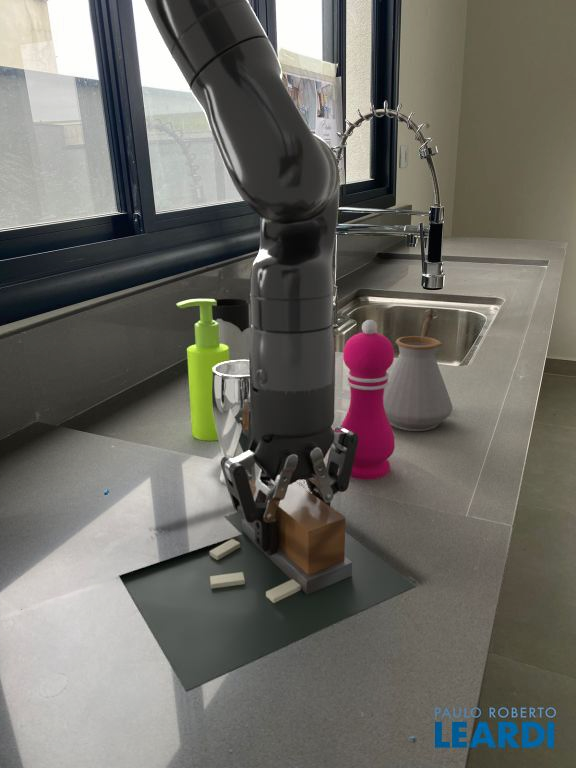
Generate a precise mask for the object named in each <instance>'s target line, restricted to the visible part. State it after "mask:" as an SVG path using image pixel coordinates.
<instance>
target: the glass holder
mask: <svg viewBox="0 0 576 768" xmlns="http://www.w3.org/2000/svg"><path fill="white" fill-rule="evenodd" d="M214 300H215V301H216V302H217V306H212V319H213V320H214V321H215V322H218V323H219V341H220V344H224V345H227V346H228V347H229V361H234V360H249V343H250V334H251V311H250V301H249V300H246V299H242V298H218V299H217V298H216V299H214Z"/></svg>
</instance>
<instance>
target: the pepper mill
mask: <svg viewBox="0 0 576 768" xmlns="http://www.w3.org/2000/svg"><path fill="white" fill-rule="evenodd" d="M377 330H378V324H377V323H376V321H374V320H373V319H367V320H365V321H364V322H363V323H362V324H361V331H362V332H358V333H356V334H354V335H352V336H351V337H350V338H349V339H348V340H347V341H346V342H345V344H344V347H343V352H342V359H343V361H344V364H345V366H346V367H347V368H348V369H349V370H348V371H347V373H346V377H347V379H346V384H347V385H348V386H349V389H350V398H349V400H350V401H349V406H348V409H347V413H346V415H345V417H344V418H343V420H342V423H341V424H340V426H342V427H344V428H346V429H348V430H350V431H352V432H353V433H355V434H357V435H358V436H359V441H358V445H357V450H356V454H355V459H354V463H353V468H352V472H351V477H350V478H353V479H356V480H357V479H358V480H365V481H366V480H367V481H368V480H377V479H381V478H383V477H385V476H387V475H388V474H389V473H390V471H391V470H390V467H391V463H390V460H388V459H389V458H390V457H391V456H392V455H393V454H394V451H395V448H396V446H395V445H396V444H395V435H394V431H393V428H392V425H391V424H390V423H389V421H388V418H387V416H386V413H385V409H384V403H383V395H384V389H385V387H387V386H388V384H389V382H388V378H389V374H390V373H388V370H389V368H390V367H391V366H392V365H393V363H394V360H395V359H394V358H395V350H394V347H393V346H394V345H393V344H392V342H391V341H390V339H389V338H388V337H386V336H385V335H383V334H381V333H377Z"/></svg>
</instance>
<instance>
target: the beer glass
mask: <svg viewBox="0 0 576 768" xmlns="http://www.w3.org/2000/svg"><path fill="white" fill-rule="evenodd" d="M212 371H213V378H212V408H213V417H214V422H215V427H216V432H217V436H218V440H217V441H218V444H219V449H220V453H221V454H220V455H221V459H222V458H223V457H224V456H231V457H232V458H235V457H237V456H239V455H241V454H243V453H245V452H247V451H248V449H249V445H250V443H251V441H252V437H253V430H252V425H251V412H250V378H249V360H234V361H227V362H223V363H220V364H217V365H215V366H214V367H213V369H212ZM258 470H259V466H258V465H257V464H256V463H255V464H254V465H253V466H252V478H251V479H250V480H252V479H255V478H256V477H257V474H258ZM219 480H220V482H221V484H222V485H224V486H226V487H227V484H226V481H225V477H224V474H223V471H222V468H221V471H220V477H219Z"/></svg>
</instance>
